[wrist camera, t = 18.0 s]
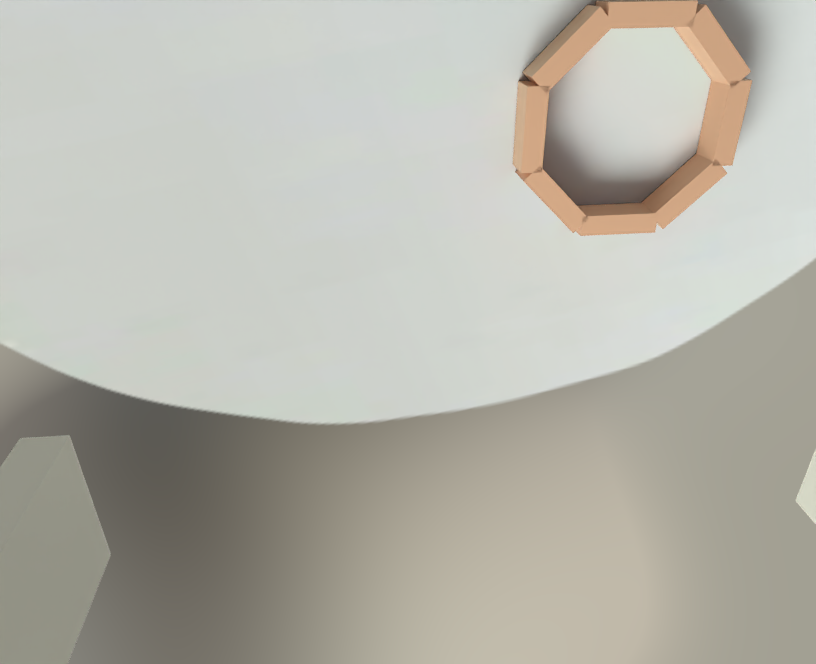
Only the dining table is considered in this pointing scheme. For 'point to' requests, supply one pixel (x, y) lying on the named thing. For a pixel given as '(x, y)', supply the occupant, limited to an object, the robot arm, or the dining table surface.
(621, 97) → the dining table surface
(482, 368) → the dining table surface
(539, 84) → the coaster ring
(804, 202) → the dining table surface
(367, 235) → the dining table surface
